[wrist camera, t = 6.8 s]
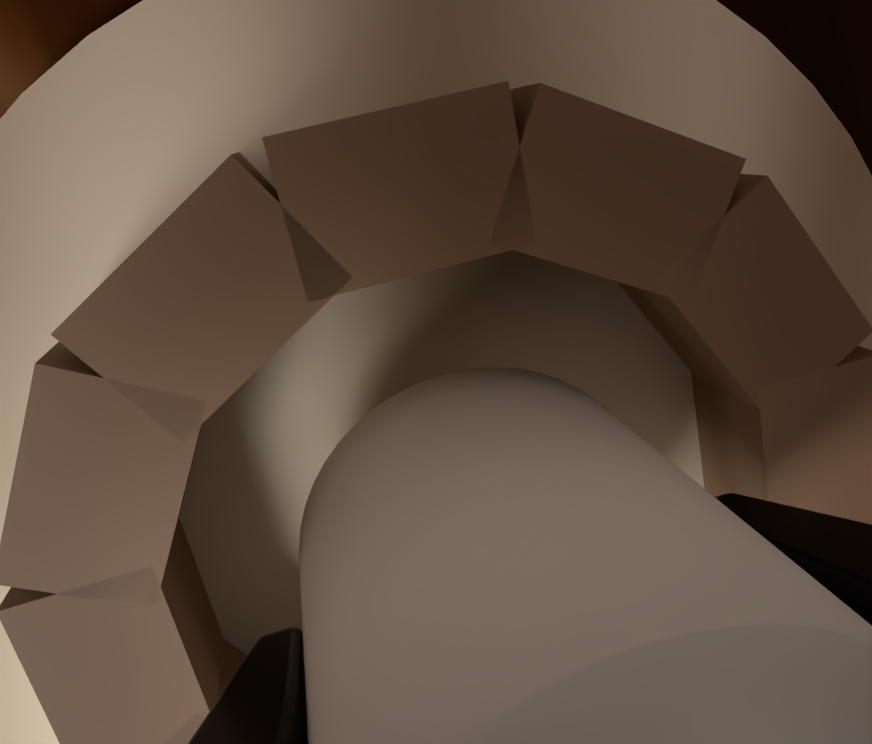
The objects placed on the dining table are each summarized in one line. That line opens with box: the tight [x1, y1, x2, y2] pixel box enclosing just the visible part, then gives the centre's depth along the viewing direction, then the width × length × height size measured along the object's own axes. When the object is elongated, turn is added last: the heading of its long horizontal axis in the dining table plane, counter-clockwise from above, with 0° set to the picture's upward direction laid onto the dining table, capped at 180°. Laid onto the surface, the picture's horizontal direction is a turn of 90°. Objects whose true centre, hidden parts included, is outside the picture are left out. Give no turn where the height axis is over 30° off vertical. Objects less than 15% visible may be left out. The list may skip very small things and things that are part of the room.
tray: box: [0, 0, 872, 744], centre depth 10 cm, size 14×14×2 cm
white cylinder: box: [299, 367, 872, 744], centre depth 7 cm, size 4×4×5 cm
